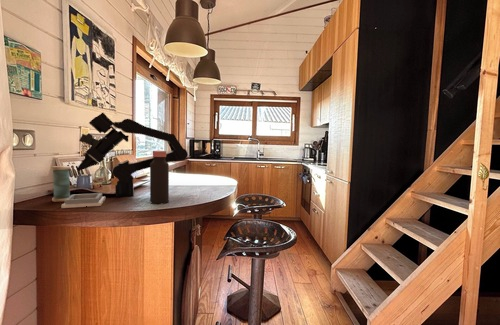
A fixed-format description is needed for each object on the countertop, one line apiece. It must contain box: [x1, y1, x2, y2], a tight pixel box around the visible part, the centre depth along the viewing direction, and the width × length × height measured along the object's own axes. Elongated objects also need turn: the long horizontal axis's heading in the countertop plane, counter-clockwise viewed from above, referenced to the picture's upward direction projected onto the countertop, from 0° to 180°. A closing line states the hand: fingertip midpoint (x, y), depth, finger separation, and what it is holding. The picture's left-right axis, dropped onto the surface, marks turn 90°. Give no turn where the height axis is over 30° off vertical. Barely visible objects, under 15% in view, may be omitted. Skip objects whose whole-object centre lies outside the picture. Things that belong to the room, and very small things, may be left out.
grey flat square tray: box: [61, 192, 106, 209], centre depth 95 cm, size 12×12×2 cm
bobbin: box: [50, 165, 72, 203], centre depth 99 cm, size 6×6×13 cm
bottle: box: [149, 150, 170, 205], centre depth 99 cm, size 7×7×20 cm
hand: (78, 168), depth 101 cm, fingers open, 9 cm apart
